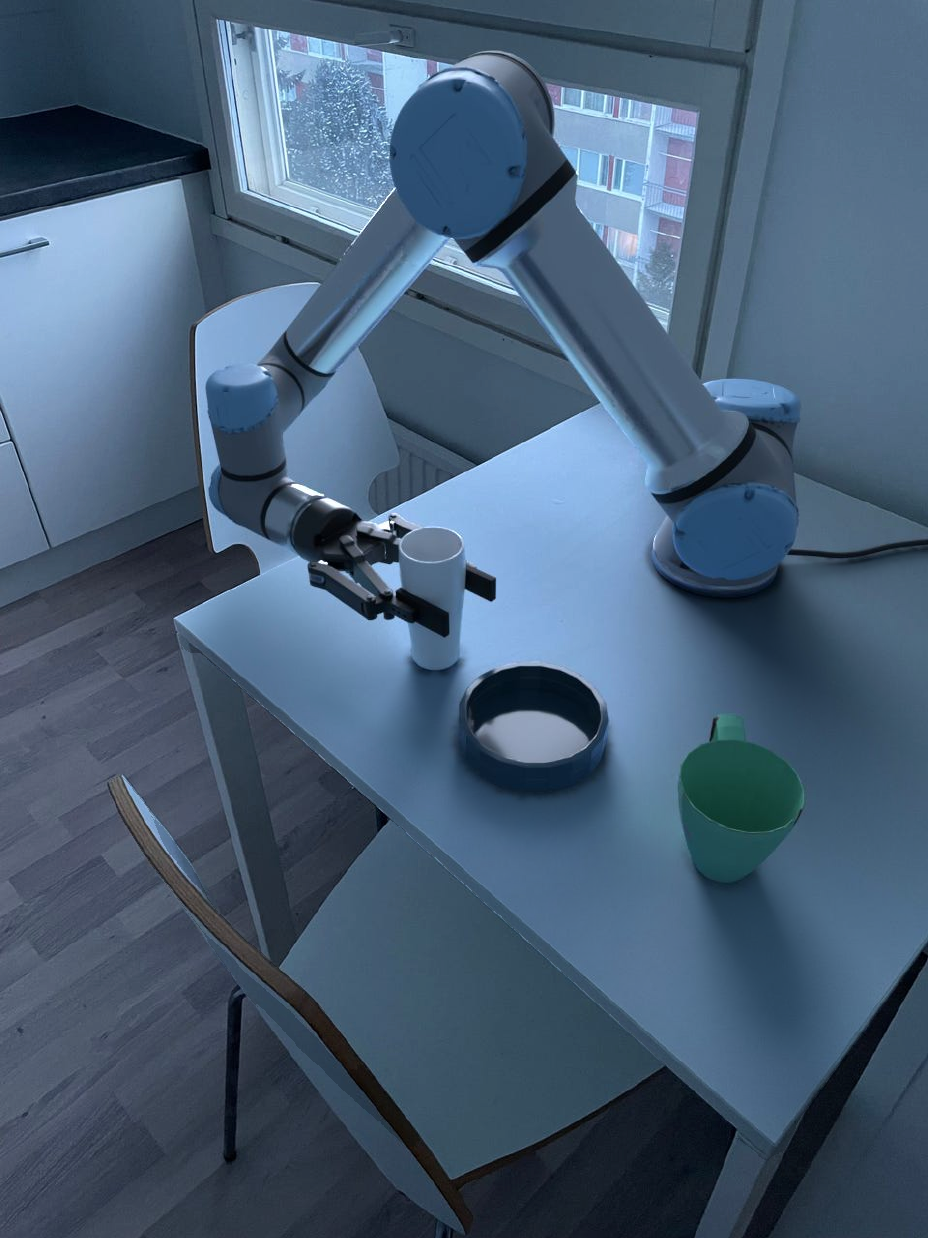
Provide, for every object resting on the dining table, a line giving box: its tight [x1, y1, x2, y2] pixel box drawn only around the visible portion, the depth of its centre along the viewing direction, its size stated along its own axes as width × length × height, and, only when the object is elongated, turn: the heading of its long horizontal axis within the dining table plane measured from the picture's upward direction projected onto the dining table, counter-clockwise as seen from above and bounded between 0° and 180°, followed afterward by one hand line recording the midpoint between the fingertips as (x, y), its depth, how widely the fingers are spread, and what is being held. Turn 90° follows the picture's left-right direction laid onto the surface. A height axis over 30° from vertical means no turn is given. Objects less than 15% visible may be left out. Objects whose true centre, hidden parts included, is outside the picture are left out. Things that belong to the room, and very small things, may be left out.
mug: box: [677, 712, 806, 884], centre depth 76 cm, size 15×10×10 cm
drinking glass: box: [398, 526, 467, 671], centre depth 94 cm, size 7×7×15 cm
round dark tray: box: [458, 661, 610, 794], centre depth 88 cm, size 14×14×4 cm
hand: (470, 607), depth 90 cm, fingers closed on drinking glass, 7 cm apart
